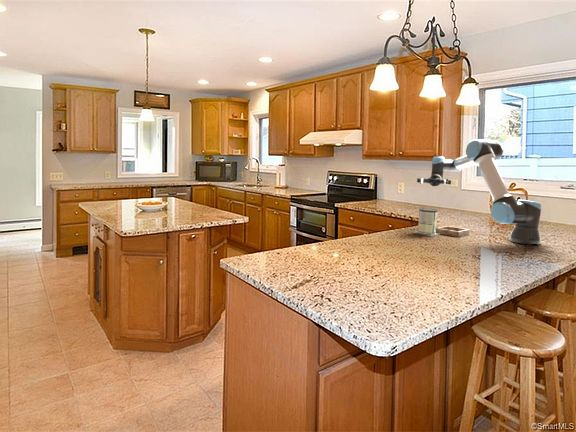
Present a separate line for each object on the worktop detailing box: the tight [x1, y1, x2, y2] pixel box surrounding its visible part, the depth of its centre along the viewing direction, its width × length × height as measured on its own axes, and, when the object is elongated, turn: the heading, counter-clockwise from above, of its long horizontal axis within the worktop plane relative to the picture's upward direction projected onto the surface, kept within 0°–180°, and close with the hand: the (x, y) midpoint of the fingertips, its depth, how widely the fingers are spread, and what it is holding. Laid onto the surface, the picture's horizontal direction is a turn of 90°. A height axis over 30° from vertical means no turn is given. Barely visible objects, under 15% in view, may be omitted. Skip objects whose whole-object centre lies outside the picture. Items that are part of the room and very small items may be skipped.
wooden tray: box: [436, 225, 471, 238], centre depth 249 cm, size 14×14×3 cm
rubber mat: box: [412, 230, 442, 237], centre depth 246 cm, size 12×12×1 cm
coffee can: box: [417, 207, 438, 235], centre depth 245 cm, size 10×10×14 cm
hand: (432, 181), depth 254 cm, fingers open, 13 cm apart
